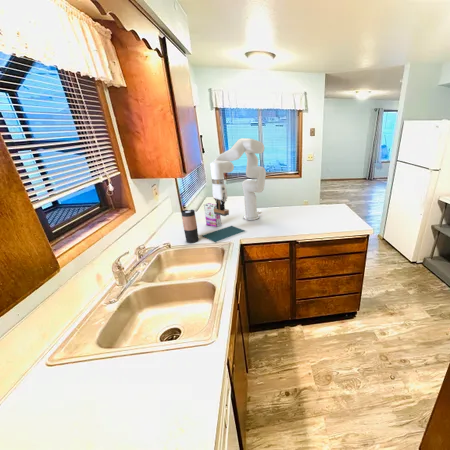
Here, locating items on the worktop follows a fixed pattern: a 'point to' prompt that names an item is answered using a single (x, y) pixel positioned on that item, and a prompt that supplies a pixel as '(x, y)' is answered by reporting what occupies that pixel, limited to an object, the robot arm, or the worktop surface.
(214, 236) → the mat
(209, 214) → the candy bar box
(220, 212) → the brush
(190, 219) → the travel mug
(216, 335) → the worktop surface
